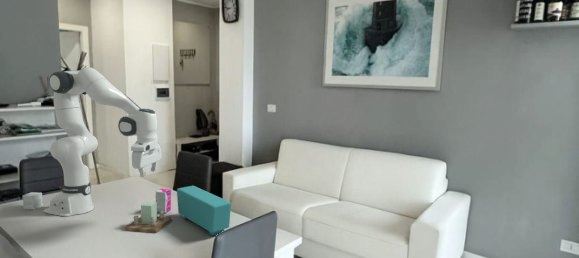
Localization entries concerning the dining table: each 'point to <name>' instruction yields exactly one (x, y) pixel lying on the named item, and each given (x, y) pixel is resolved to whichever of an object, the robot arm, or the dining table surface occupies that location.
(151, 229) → the peg board
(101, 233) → the dining table surface
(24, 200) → the skincare box
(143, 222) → the sage block
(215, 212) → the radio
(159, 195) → the supplement box
